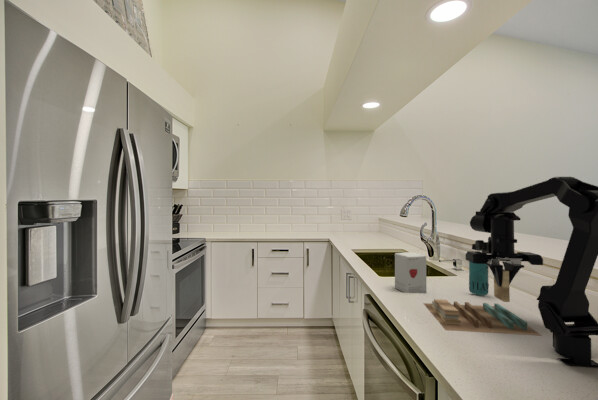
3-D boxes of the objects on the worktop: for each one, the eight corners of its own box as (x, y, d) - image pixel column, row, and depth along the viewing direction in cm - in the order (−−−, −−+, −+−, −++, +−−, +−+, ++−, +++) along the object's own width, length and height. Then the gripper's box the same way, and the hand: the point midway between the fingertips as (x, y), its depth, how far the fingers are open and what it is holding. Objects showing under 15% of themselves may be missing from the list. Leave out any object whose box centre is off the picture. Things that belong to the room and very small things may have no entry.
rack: (542, 339, 72) (542, 327, 72) (445, 333, 75) (445, 322, 75) (498, 309, 92) (498, 300, 92) (423, 306, 95) (423, 297, 95)
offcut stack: (460, 324, 79) (460, 312, 79) (445, 323, 79) (445, 311, 79) (444, 308, 90) (444, 297, 90) (431, 307, 91) (431, 297, 91)
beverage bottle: (469, 297, 103) (468, 244, 103) (468, 292, 109) (467, 242, 109) (490, 300, 100) (489, 245, 100) (487, 294, 106) (487, 243, 106)
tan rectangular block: (509, 302, 81) (509, 271, 81) (503, 301, 81) (503, 271, 81) (499, 296, 86) (499, 267, 86) (494, 296, 86) (493, 267, 86)
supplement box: (407, 295, 107) (407, 256, 107) (394, 288, 115) (393, 252, 115) (427, 293, 109) (427, 255, 109) (413, 286, 117) (412, 251, 118)
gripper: (518, 232, 89) (519, 279, 89) (457, 231, 92) (458, 278, 92) (544, 236, 78) (545, 290, 78) (473, 235, 81) (474, 288, 81)
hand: (502, 286), depth 82 cm, fingers closed on tan rectangular block, 2 cm apart
